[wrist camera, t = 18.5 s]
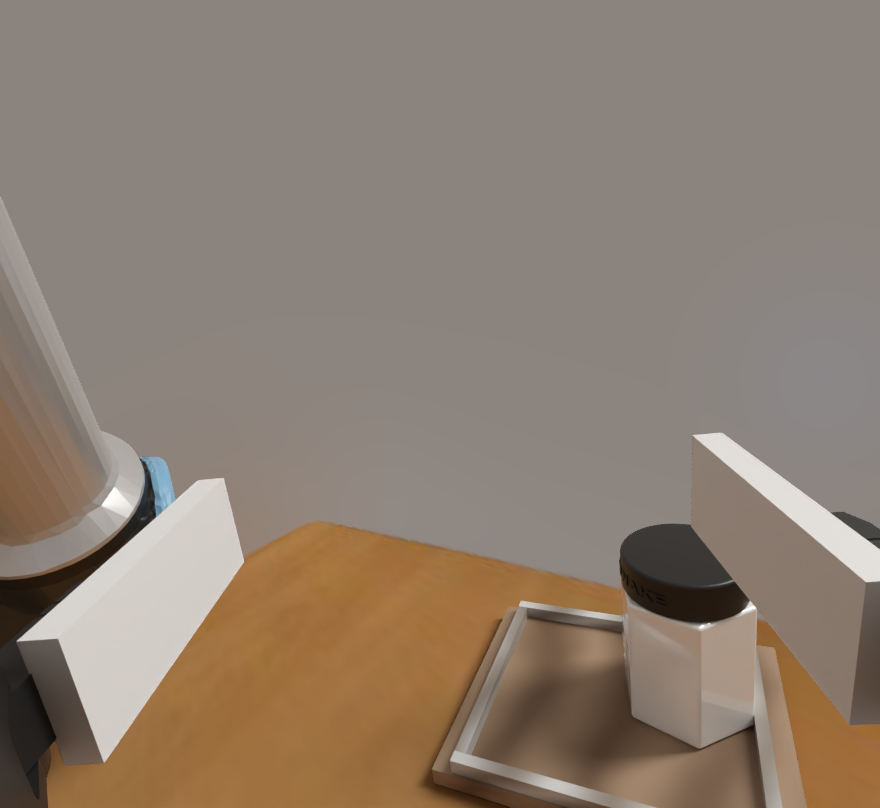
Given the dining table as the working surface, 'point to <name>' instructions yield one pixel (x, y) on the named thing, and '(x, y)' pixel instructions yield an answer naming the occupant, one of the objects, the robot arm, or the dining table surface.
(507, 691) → the tray
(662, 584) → the jar
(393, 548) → the dining table surface
